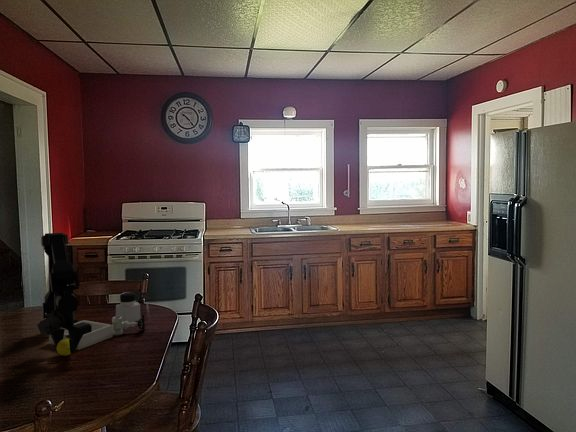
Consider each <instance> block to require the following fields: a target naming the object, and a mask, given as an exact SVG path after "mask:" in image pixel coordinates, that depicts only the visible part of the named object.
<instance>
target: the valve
mask: <svg viewBox="0 0 576 432" xmlns="http://www.w3.org/2000/svg"><path fill="white" fill-rule="evenodd" d="M145 319H146V318H145V314H141V319H140V320H139V321H136V322H131V323H129V322H128V321H125V322H122V321H123V317H122V316H116V315H115V316H113V317H112V318H111V322H112V324H111V325H112V326H113V336H120V335H123V334H124V330H123V329H125V330H126V329H128V328H130V327H132V328H133V327H135V326H137V327H138V328H139V329H140V330H141V331H142V332H145V330H146V327H145V326H146V324H145Z"/></svg>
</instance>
